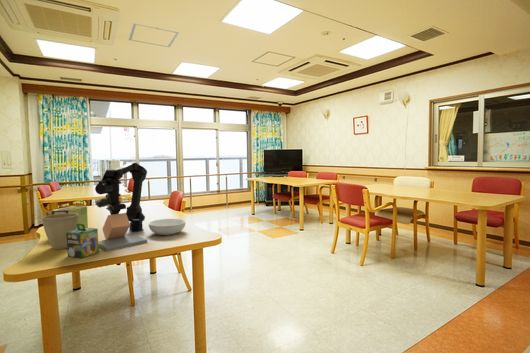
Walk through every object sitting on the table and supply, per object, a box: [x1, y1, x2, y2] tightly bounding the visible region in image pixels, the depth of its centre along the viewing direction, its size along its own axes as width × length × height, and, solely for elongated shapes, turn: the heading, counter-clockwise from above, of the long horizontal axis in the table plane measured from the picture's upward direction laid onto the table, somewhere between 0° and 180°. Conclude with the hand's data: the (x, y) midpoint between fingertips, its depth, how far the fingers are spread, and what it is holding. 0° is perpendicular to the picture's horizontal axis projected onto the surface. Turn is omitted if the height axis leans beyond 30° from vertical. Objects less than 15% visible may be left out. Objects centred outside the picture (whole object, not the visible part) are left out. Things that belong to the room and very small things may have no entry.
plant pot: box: [41, 213, 78, 250], centre depth 143 cm, size 15×15×16 cm
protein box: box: [51, 205, 89, 229], centre depth 168 cm, size 10×15×16 cm
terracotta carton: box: [102, 212, 130, 240], centre depth 154 cm, size 9×8×13 cm
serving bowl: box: [148, 218, 186, 236], centre depth 171 cm, size 21×21×7 cm
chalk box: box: [66, 223, 100, 259], centre depth 132 cm, size 9×9×15 cm
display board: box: [98, 233, 148, 252], centre depth 150 cm, size 20×16×2 cm
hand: (113, 220), depth 156 cm, fingers closed
